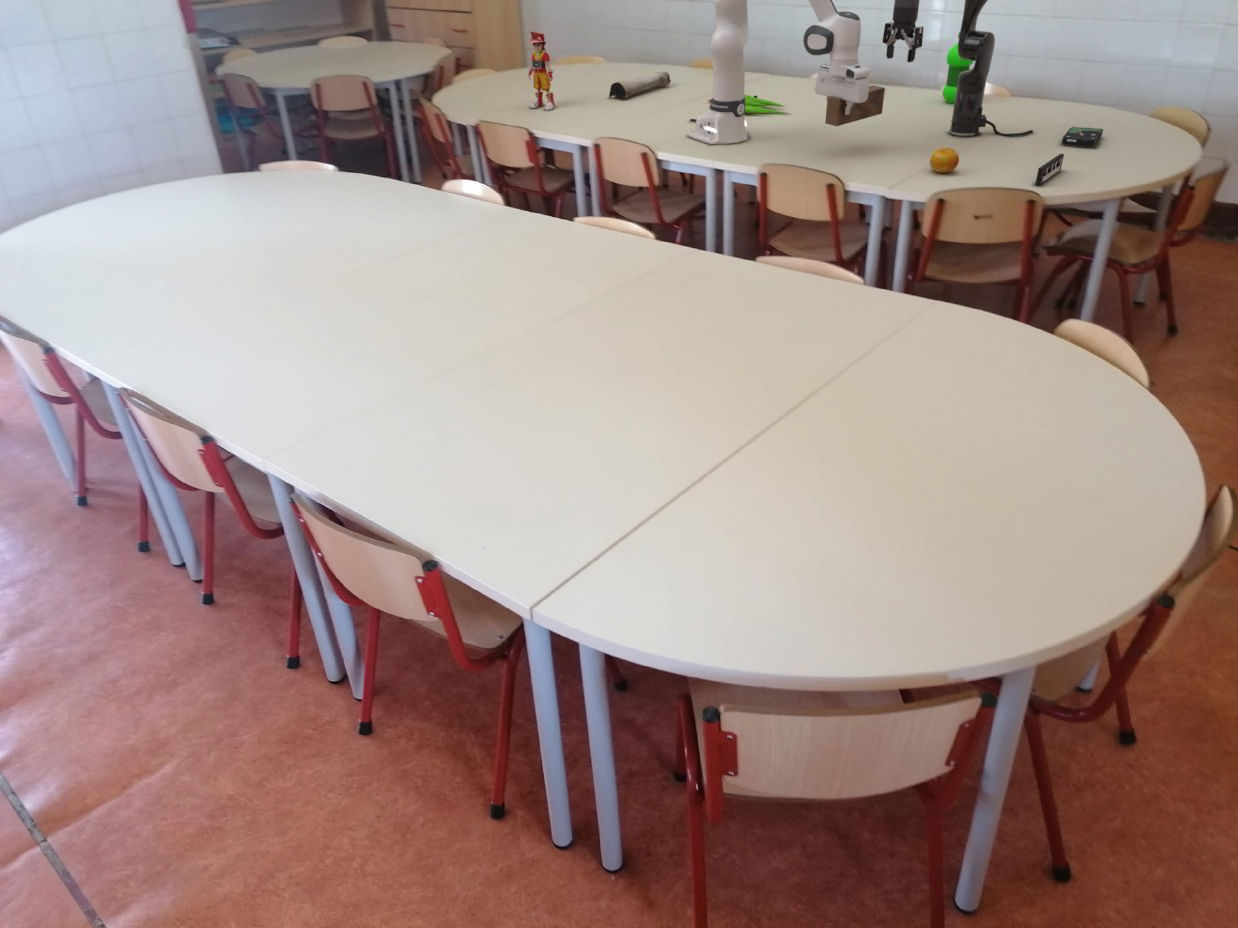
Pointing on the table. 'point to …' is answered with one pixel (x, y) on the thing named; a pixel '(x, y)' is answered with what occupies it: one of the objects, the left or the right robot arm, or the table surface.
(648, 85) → the rolled mat
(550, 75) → the toy
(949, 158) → the fruit
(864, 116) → the bar
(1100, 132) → the disk drive
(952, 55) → the green tall rounded piece
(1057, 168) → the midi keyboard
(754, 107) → the toy
